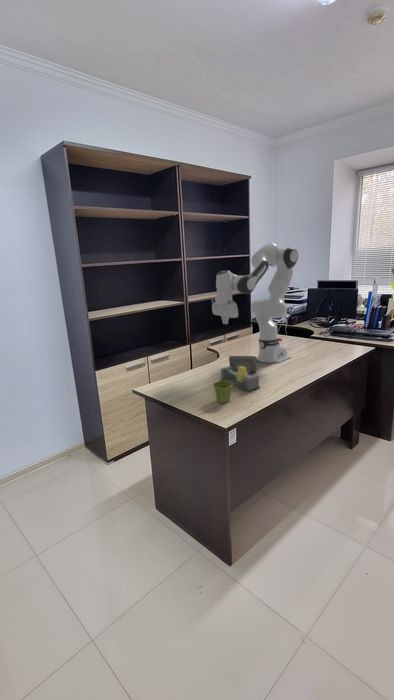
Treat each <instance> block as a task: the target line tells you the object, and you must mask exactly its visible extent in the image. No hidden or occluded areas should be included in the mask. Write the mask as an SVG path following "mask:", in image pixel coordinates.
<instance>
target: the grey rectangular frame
mask: <svg viewBox="0 0 394 700" xmlns="http://www.w3.org/2000/svg"><path fill="white" fill-rule="evenodd" d="M220 376H221V377H220V379H219V381H230V382H232V383H233V385H232V387H235V388H236V389H239V390H241V391H243V392H246V393H250V392H252V391H255V390H258V389H261V386H260V376H258V375H254V376H252V375H251V374H250V375H243V380H244V382H239V381H237V372H234V371H233V367H231V366H230V365H229V366H227V367H223V368H221V369H220Z"/></svg>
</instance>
